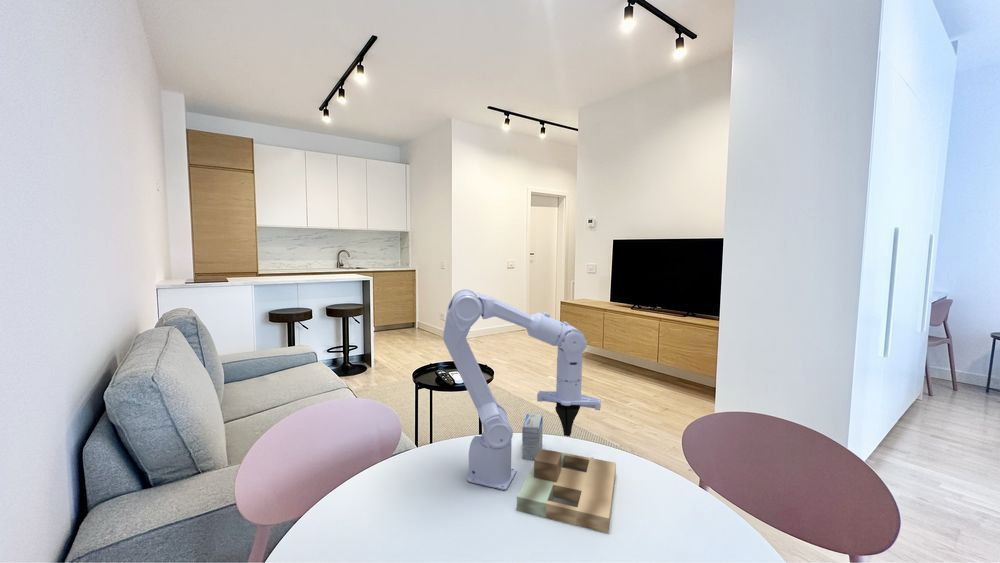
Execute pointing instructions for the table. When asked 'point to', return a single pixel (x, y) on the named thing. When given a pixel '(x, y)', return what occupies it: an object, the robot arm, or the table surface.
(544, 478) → the walnut block
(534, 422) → the medicine box
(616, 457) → the table surface
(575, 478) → the board
